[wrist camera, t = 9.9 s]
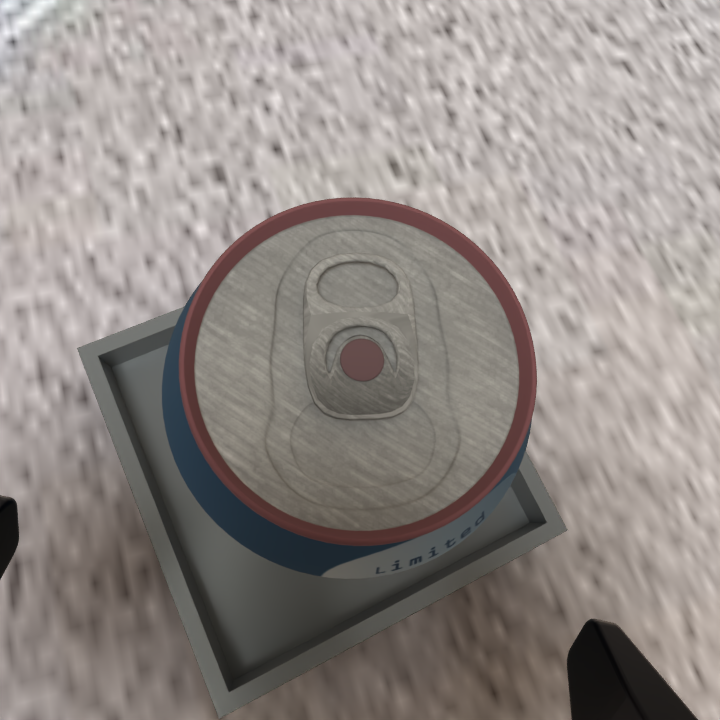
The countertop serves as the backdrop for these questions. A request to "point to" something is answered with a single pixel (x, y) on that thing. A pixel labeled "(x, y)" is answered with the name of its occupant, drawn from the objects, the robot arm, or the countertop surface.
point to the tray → (256, 574)
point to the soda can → (350, 388)
